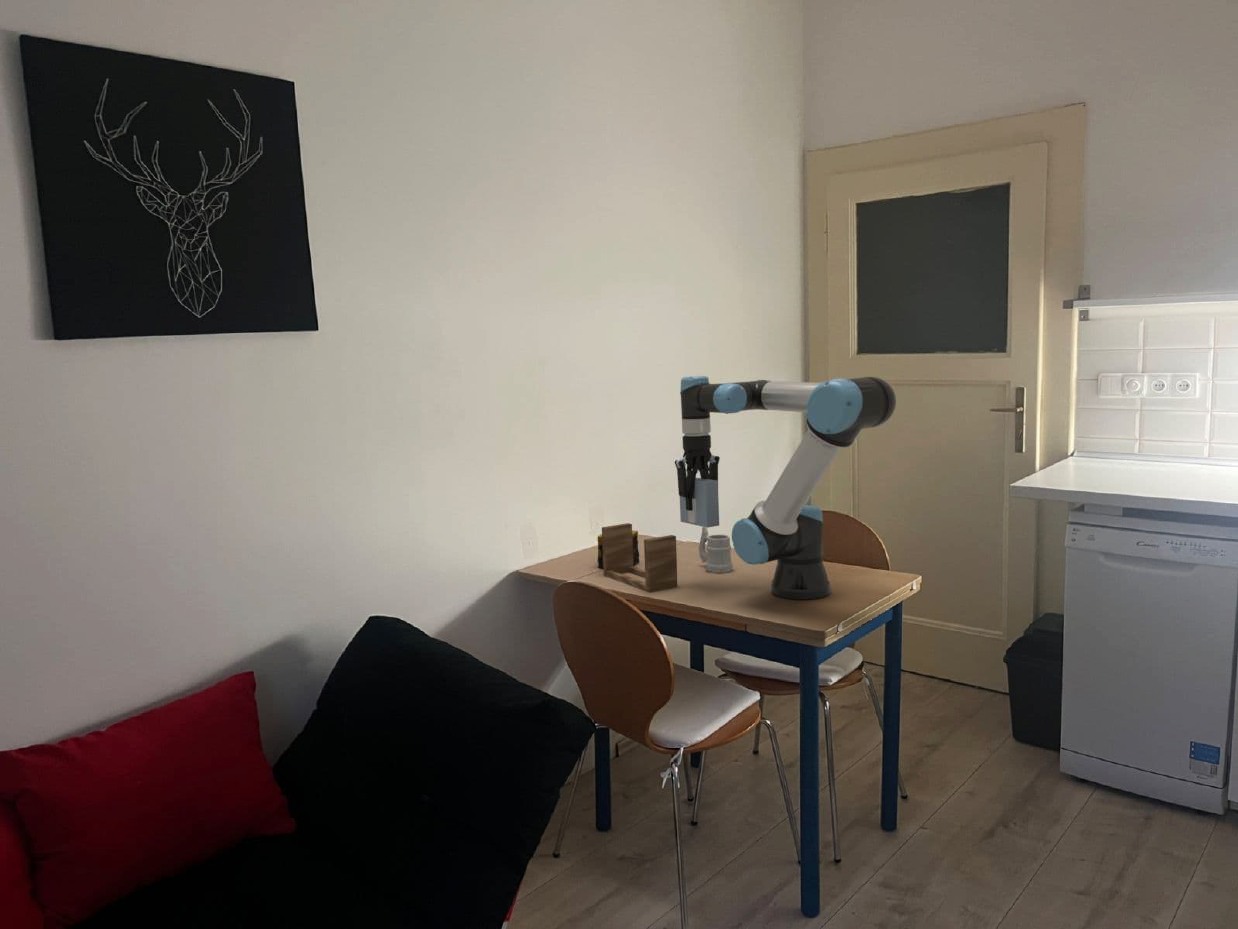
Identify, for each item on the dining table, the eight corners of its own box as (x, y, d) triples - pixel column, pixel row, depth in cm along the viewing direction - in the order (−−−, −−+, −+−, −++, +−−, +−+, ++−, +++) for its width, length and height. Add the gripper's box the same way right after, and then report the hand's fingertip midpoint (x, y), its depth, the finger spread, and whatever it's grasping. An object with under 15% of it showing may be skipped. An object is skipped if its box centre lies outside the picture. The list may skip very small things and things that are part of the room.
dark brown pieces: (609, 561, 283) (607, 529, 281) (640, 562, 279) (639, 530, 278) (597, 569, 273) (595, 536, 272) (629, 570, 270) (628, 537, 268)
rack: (677, 586, 250) (675, 536, 248) (649, 592, 245) (648, 540, 243) (630, 570, 270) (628, 523, 268) (603, 575, 265) (601, 527, 264)
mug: (719, 575, 261) (718, 533, 259) (690, 568, 270) (689, 527, 268) (738, 570, 265) (737, 529, 264) (709, 563, 274) (708, 523, 273)
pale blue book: (719, 525, 244) (717, 480, 242) (707, 527, 241) (705, 482, 240) (692, 519, 254) (690, 476, 252) (680, 521, 252) (678, 478, 250)
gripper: (713, 431, 252) (716, 515, 255) (661, 436, 243) (665, 523, 246) (730, 432, 246) (733, 518, 249) (678, 438, 237) (682, 527, 240)
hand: (699, 520), depth 247 cm, fingers closed on pale blue book, 4 cm apart
